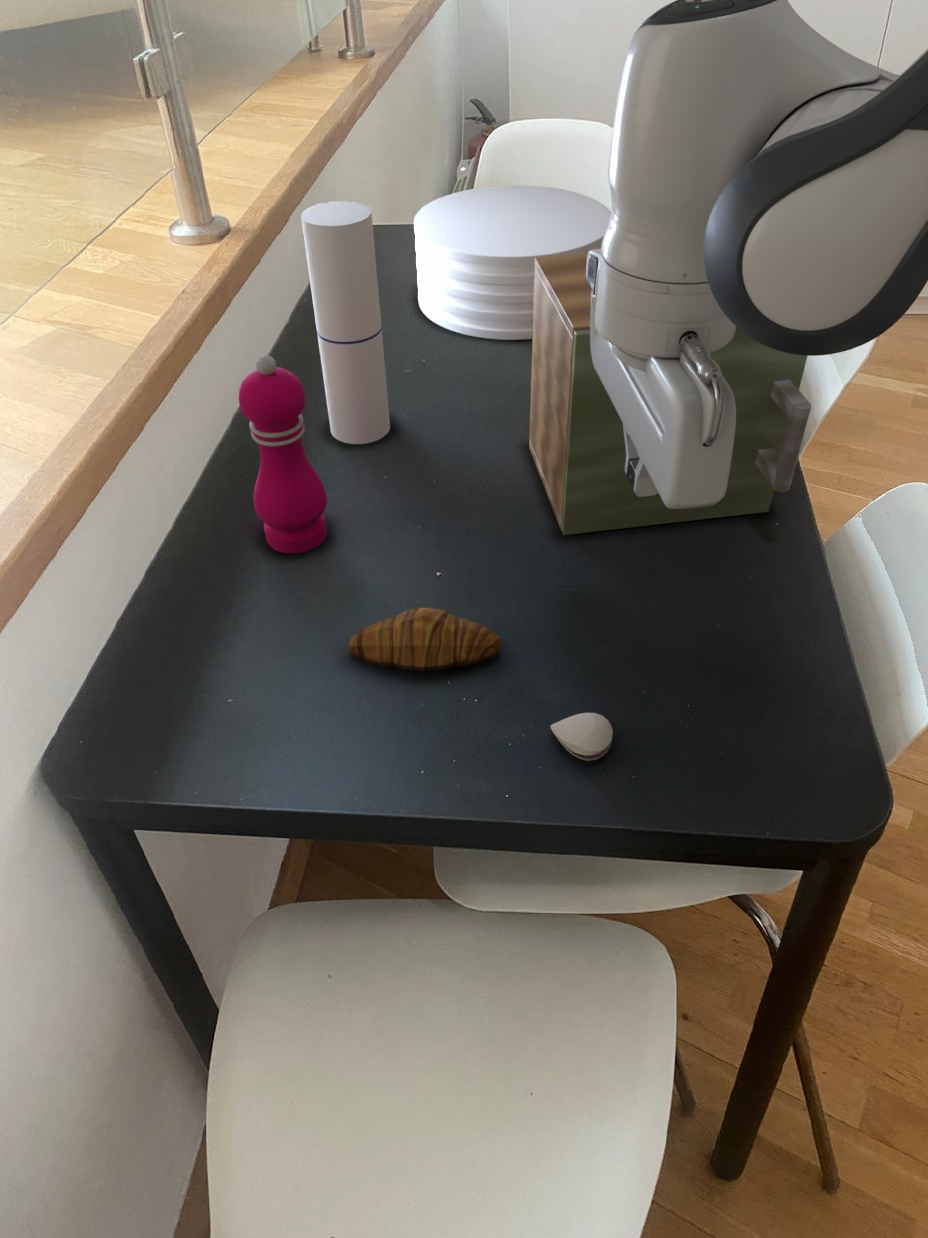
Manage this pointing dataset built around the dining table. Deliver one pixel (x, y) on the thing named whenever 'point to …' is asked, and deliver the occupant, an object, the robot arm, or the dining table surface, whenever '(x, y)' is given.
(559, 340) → the cupboard
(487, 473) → the dining table surface
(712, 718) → the dining table surface
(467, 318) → the plate stack
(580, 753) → the clam shell
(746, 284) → the robot arm
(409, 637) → the croissant
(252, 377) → the pepper mill
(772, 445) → the cupboard door
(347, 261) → the cylindrical container
